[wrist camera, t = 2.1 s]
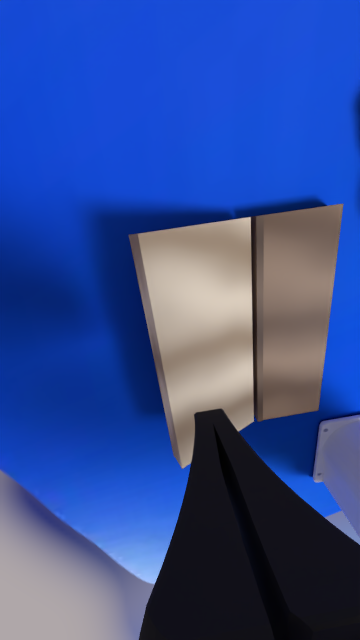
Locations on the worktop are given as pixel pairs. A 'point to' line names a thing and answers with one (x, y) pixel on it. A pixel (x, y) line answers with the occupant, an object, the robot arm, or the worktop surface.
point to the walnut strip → (291, 306)
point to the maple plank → (199, 322)
